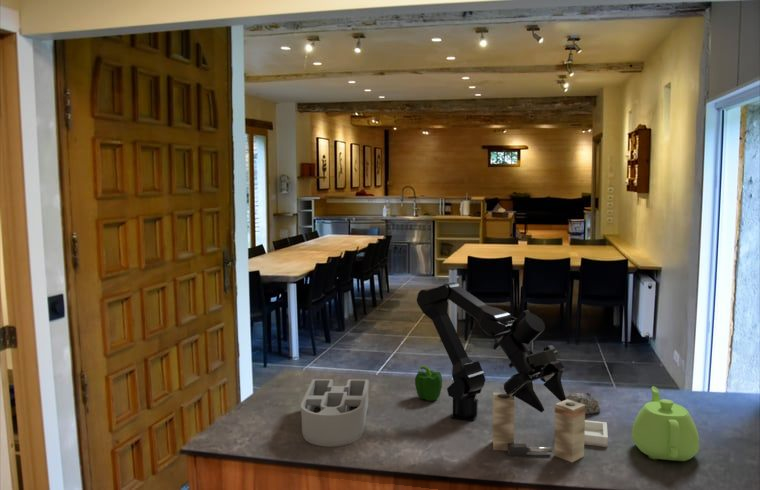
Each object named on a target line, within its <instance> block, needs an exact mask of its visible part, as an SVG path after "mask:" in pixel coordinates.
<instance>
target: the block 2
mask: <svg viewBox="0 0 760 490" xmlns="http://www.w3.org/2000/svg"><path fill="white" fill-rule="evenodd" d="M554 405H555V406H554V441H553V442H554V443H553V444H554V447H553V448H554V449H553V450H554V451H553V454H554V455H553V456H554V457H557V458H559V459H561V460H565V461H566V462H570V463H574V462H577V461H578V460H581V459H582V458H583V457H585V444H584V437H585V420H586V414H585V411H586V408H585V404H581V403H578V402H575V401H572V400H568V399H567V400H564V401H562V402H561V401H559V402H557V403H555V404H554Z"/></svg>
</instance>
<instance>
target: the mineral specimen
mask: <svg viewBox="0 0 760 490" xmlns="http://www.w3.org/2000/svg"><path fill="white" fill-rule="evenodd" d="M565 397H566V400H567V399H568V400H572V401H575V402H578V403H581V404H585V408H586V411H585V415H586V414H589V415H593V414H598V413H600V412H601V406H600V405H599V401H598V400H597V399H595V398H594V397H593V395H592V394H591V393H589V392H578V393H575V392H574V393H572V394H567V395H565Z"/></svg>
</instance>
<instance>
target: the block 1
mask: <svg viewBox="0 0 760 490" xmlns="http://www.w3.org/2000/svg"><path fill="white" fill-rule="evenodd" d="M513 394H514V393H513ZM513 394H511V395H507V393H506V392H492V448H493V451H506V452H507V448H508V443H515V397H513V396H512V395H513Z"/></svg>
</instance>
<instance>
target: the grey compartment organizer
mask: <svg viewBox="0 0 760 490" xmlns="http://www.w3.org/2000/svg"><path fill="white" fill-rule="evenodd" d="M369 381H370V380H369V379H356V378H355V379H350V378H349V379H347V382H346V385H337V386H336V385H334V379H333V378H330V379H328V378H327V379H326V378H325V379H323V378H321V379H320V378H318V379H316V378H315V379H314V378H313V379H311V382H310V383H309V386H308V388H307V390H306V392H305V394H304V396H303V399H302V401H301V403H300V414H301V433H302V436H303V438H304V440H305V441H306V442H307V443H309V444H311V445H315V446H319V447H341V446H345V445H350V444H352V443H355V442H357V441H358V440H360V438H362V435H363V432H364V428H365V423H366V417H367V413H368V411H367V410H368V407H369V386H370V384H369ZM351 407H357V408H353V409H352V408H351ZM316 408H320V411H319V412H314V411H315V409H316ZM351 409H352V410H351Z"/></svg>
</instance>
